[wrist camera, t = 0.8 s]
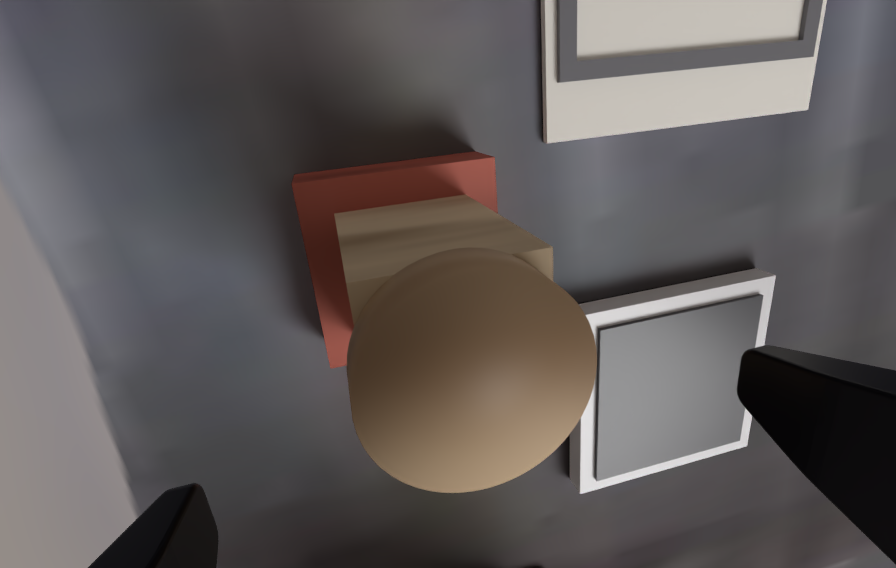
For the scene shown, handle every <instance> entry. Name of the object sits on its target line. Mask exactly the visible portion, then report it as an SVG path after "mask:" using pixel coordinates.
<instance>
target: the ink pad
mask: <svg viewBox="0 0 896 568" xmlns="http://www.w3.org/2000/svg"><path fill="white" fill-rule="evenodd" d="M775 278H776V275H773V274H771V273H768V272H765V271H763V270H760V269H757V268H755V269H750V270H745V271H740V272H735V273H730V274H725V275H720V276H715V277H710V278H705V279H700V280H695V281H690V282H685V283H680V284H676V285H671V286H666V287H661V288H656V289H651V290H646V291H641V292H636V293H631V294H626V295H621V296H616V297H611V298H606V299H601V300H597V301H592V302H587V303H582V304H578V305H579V306H580V307H581V309H582V310H583V312H584V314H585V315H586V317H587V319H588V321H589V323H590V326H591V329H592V331H593V334H594V339H595V344H596V350H597V368H596V378H595V382H594V386H593V391H592V393H591V396H590V399H589V402H588V404H587V406H586V408H585V410H584V413H583V415H582V417H581V418H580V420H579V421H578V423H577V424H576V426H575V428H574V429H573V430H572V432H571V433H570V480H571V481H572V483H573V484H574V486H575V487H576V489H577V490H578V492H579V493H580V494H582V493H586V492H589V491H593V490H596V489H600V488H603V487H607V486H610V485H614V484H617V483H621V482H624V481H628V480H631V479H635V478H638V477H641V476H645V475H648V474H652V473H655V472H659V471H662V470H666V469H669V468H673V467H676V466H680V465H683V464H687V463H690V462H694V461H697V460H700V459H704V458H707V457H711V456H714V455H718V454H721V453H725V452H728V451H732V450H735V449H739V448H742V447H746V446H747V443H748V437H749V431H750V425H751V419H752V415H751V414H750V413H749V412H748V411H747V409H746V408H745V407H744V406H743V405H742V403H741V402H740V400H739V398H738V395H737V382H738V375H739V369H740V362H741V357H742V355H743V353H744V352H745V351H746V350H748V349H752V348H756V347H760V346H764V343H765V337H766V331H767V325H768V319H769V313H770V307H771V301H772V295H773V289H774V284H775Z"/></svg>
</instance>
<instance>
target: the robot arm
mask: <svg viewBox="0 0 896 568" xmlns="http://www.w3.org/2000/svg"><path fill="white" fill-rule="evenodd" d="M737 395H738V398H739V400H740V402H741V403H742V405H743V406H744V407H745V408H746V409H747V411H748V412H749V413H750V414H751V415H752V416H753V417H754V419H755V420H756V421H757V422H758V423H759V424H760V425H761V427H762V428H763V429H764V430H765V431H766V432H767V433H768V435H769V436H770V437H771V438H772V439H773V440H774V441H775V443H776V444H777V445H778V446H779V447H780V448H781V449H782V451H783V452H784V453H785V454H786V455H787V456H788V457H789V459H790V460H791V461H792V462H793V463H794V464H795V465H796V466H797V468H798V469H799V470H800V471H801V472H802V473H803V474H804V475H805V476H806V477H807V478H808V479H809V480H810V481H811V482H812V483H813V484H814V485H815V486H816V487H817V488H818V489H819V490H820V491H821V492H822V493H823V494H824V495H825V496H826V497H827V498H828V499H829V500H830V501H831V502H832V503H833V504H834V505H835V506H836V507H837V508H838V509H839V510H840V511H841V512H842V513H843V514H844V515H845V516H846V517H847V518H848V519H849V520H851V521H852V522H853V523H854V524H855V525H856V526H857V527H858V528H859V529H860V530H861V531H862V532H863V533H864V534H865V535H866V536H867V537H868V538H869V539H870V540H871V541H872V542H873V543H874V544H875V545H876V546H877V547H878V548H879V549H880V550H881V551H882V552H883V553H884V554H885V555H886V556H887V557H889V558H890V559H891V560H892V561H893V562H894V563H895V564H896V371H895V370H890V369H885V368H880V367H875V366H870V365H865V364H860V363H855V362H850V361H845V360H840V359H835V358H830V357H825V356H820V355H815V354H810V353H805V352H800V351H795V350H790V349H785V348H780V347H775V346H770V345H766V346H760V347H756V348H752V349H748V350H746V351H745V352H744V353H743V355H742V357H741V362H740V369H739V375H738V382H737ZM217 552H218V530H217V526H216V523H215V520H214V517H213V514H212V512H211V509H210V506H209V503H208V501H207V498H206V495H205V492H204V490H203V488H202V487H201V486H200V485H199V484H196V483H192V484H188V485H184V486H180V487H176V488H172V489H169V490H167V491H165V492H164V493H163V494H162V495H161V496H160V497H159V498H158V499H157V500H156V501H155V502H154V503H153V504H152V505H151V506H150V507H149V508H148V509H147V510H146V511H145V512H144V513H143V514H142V515H141V516H139V517H138V518H137V519H136V520H135V522H133V524H131V525H130V526H129V527H128V528H127V530H125V531H124V532H123V533H122V534H121V535H120V537H118V538H117V539H116V540H115V541H114V542H113V543H112V544H111V545H110V546H109V547H108V548H107V549H106V550H105V551H104V552H103V553H102V554H101V555H100V556H99V557H98V558H97V559H96V560H95V561H94V562H93V563H92V564H91V565H90V566H89V567H88V568H216V564H217Z"/></svg>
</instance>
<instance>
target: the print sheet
mask: <svg viewBox="0 0 896 568" xmlns="http://www.w3.org/2000/svg"><path fill="white" fill-rule="evenodd" d="M826 3H827V0H541V39H542V91H543V142H544V143H554V142H562V141H570V140H578V139H585V138H593V137H601V136H609V135H617V134H624V133H632V132H640V131H648V130H655V129H663V128H671V127H679V126H687V125H694V124H702V123H710V122H718V121H726V120H733V119H741V118H749V117H757V116H764V115H772V114H780V113H788V112H796V111H803V110H808V107H809V101H810V95H811V89H812V84H813V78H814V72H815V66H816V61H817V55H818V49H819V43H820V37H821V32H822V26H823V20H824V14H825V8H826Z"/></svg>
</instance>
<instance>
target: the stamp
mask: <svg viewBox="0 0 896 568" xmlns="http://www.w3.org/2000/svg"><path fill="white" fill-rule="evenodd" d="M292 189H293V193H294V198H295V203H296V207H297V212H298V217H299V222H300V226H301V231H302V236H303V240H304V245H305V250H306V255H307V259H308V264H309V269H310V273H311V278H312V283H313V288H314V292H315V297H316V302H317V306H318V311H319V316H320V320H321V325H322V330H323V335H324V339H325V344H326V349H327V353H328V358H329V363H330V368H336V367H341V366H345V365H347V377H348V385H349V394H350V402H351V411H352V419H353V423H354V426H355V429H356V433H357V435H358V437H359V439H360V441H361V444H362V446H363V447H364V449H365V450H366V452H367V453H368V454H369V456H370V457H371V458H372V459H373V461H374V462H375V463H376V464H377V465H378V466H379V467H380V468H382V469H383V470H384V471H385V472H387V473H388V474H389V475H391V476H392V477H394V478H396V479H398V480H400V481H401V482H403V483H406V484H408V485H411V486H413V487H416V488H420V489H424V490H428V491H434V492H443V493H462V492H471V491H477V490H482V489H486V488H490V487H493V486H496V485H499V484H502V483H505V482H507V481H509V480H512V479H514V478H516V477H518V476H520V475H522V474H523V473H525V472H527V471H529V470H530V469H532V468H533V467H535V466H536V465H538V464H539V463H541V462H542V461H543V460H544V459H546V458H547V457H548V456H549V455H550V454H552V453H553V452H554V451H555V450H556V449H557V448H558V447H559V446H560V445H561V444H562V443H563V442H564V441H565V439H566V438H567V437H568V435H569V434H570V433H571V432H572V430H573V429H574V428H575V426H576V424H577V423H578V421H579V420H580V418H581V417H582V415H583V413H584V410H585V408H586V406H587V404H588V402H589V399H590V396H591V393H592V391H593V386H594V382H595V378H596V368H597V350H596V344H595V339H594V334H593V331H592V329H591V326H590V323H589V321H588V319H587V317H586V315H585V314H584V312H583V310H582V309H581V307H580V306H579V305H578V304H577V302H576V301H575V300H574V299H573V298H572V297H571V296H570V295H569V294H568V293H567V292H566V291H565V290H564V289H562V288H561V287H560V286H558V285H557V284H556V283H554V282H553V247H552V246H550V245H549V244H547V243H545V242H544V241H542V240H540V239H539V238H537V237H535V236H534V235H532V234H530V233H529V232H527V231H525V230H524V229H522V228H520V227H519V226H517V225H515V224H514V223H512V222H510V221H509V220H507V219H505V218H504V217H502V216H501V215H499V214H498V210H497V192H496V174H495V157H492V156H489V155H486V154H482V153H479V152H476V151H474V152H466V153H458V154H450V155H443V156H435V157H427V158H419V159H411V160H403V161H396V162H388V163H380V164H372V165H364V166H356V167H348V168H341V169H333V170H325V171H317V172H309V173H301V174H294V177H293V180H292Z"/></svg>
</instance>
